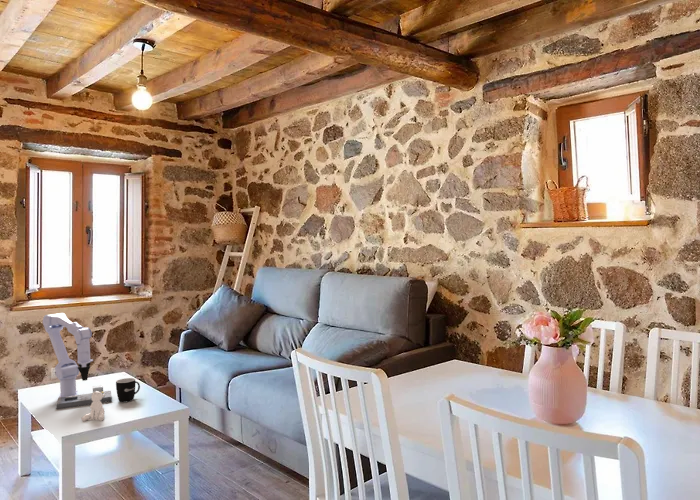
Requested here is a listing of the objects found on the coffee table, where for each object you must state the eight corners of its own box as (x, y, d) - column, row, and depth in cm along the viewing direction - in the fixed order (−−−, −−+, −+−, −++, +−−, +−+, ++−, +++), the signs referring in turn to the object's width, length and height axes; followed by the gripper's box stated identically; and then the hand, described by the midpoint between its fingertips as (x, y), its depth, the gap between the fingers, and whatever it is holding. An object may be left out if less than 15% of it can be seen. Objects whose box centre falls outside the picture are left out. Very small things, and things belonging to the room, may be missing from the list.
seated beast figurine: (80, 421, 233) (79, 394, 233) (90, 415, 242) (89, 389, 242) (102, 421, 233) (101, 394, 233) (110, 414, 242) (110, 388, 242)
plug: (93, 400, 266) (92, 386, 266) (103, 398, 268) (102, 384, 268) (93, 402, 262) (92, 388, 262) (103, 400, 264) (103, 386, 264)
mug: (122, 404, 257) (122, 383, 257) (112, 401, 263) (112, 381, 263) (145, 398, 267) (144, 378, 267) (135, 395, 272) (134, 375, 272)
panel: (58, 402, 263) (58, 397, 263) (111, 395, 273) (110, 390, 273) (56, 409, 252) (56, 403, 252) (111, 401, 262) (111, 396, 262)
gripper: (92, 353, 263) (93, 380, 263) (92, 348, 276) (93, 374, 276) (76, 355, 259) (77, 382, 260) (77, 350, 273) (78, 376, 273)
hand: (85, 378), depth 267 cm, fingers open, 7 cm apart
